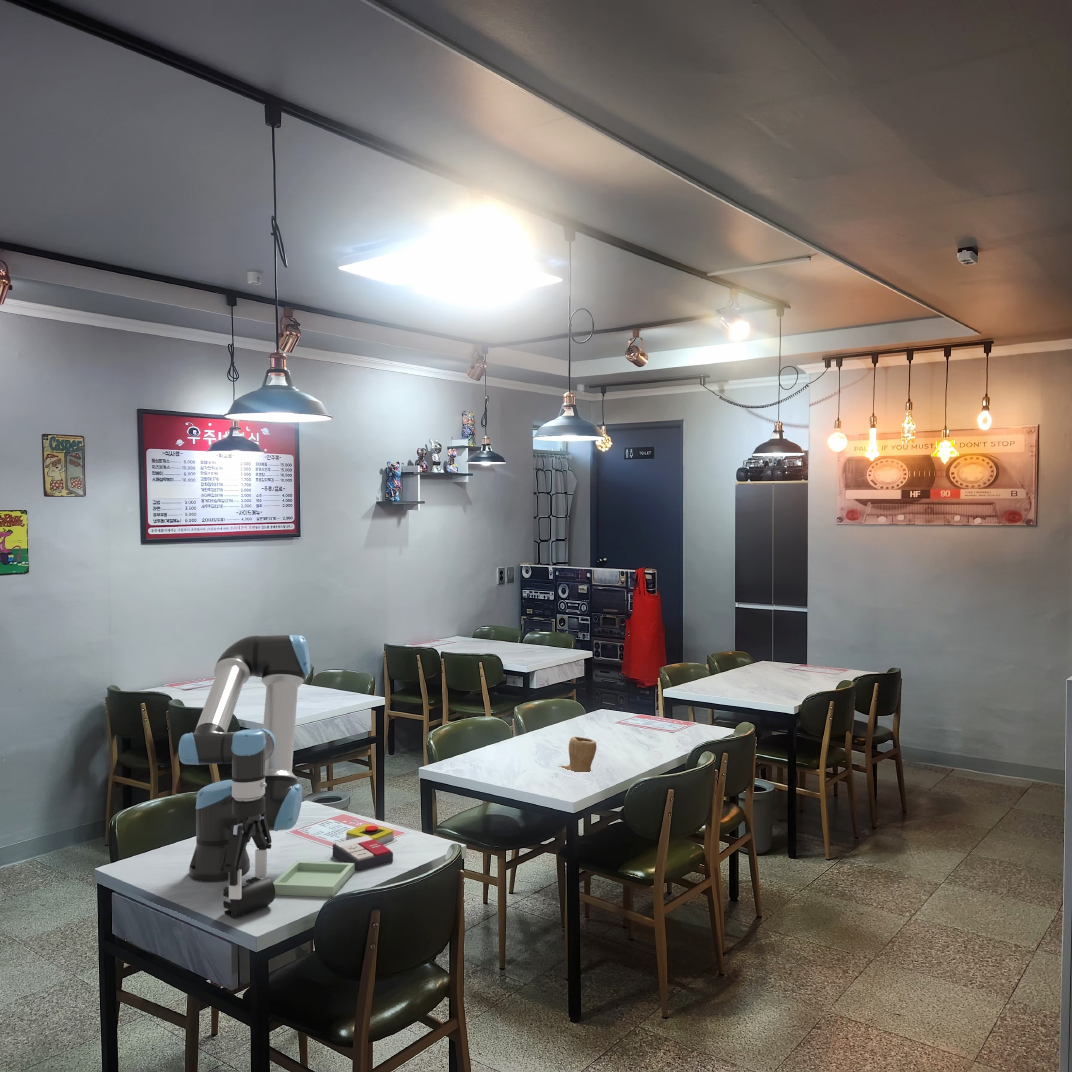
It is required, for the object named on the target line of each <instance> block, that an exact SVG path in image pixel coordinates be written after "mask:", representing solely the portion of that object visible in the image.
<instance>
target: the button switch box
mask: <svg viewBox="0 0 1072 1072" xmlns="http://www.w3.org/2000/svg"><path fill="white" fill-rule="evenodd" d="M332 857H333V858H335V859H337V860H338V861H340V862H341V863H354V865H355V872H360V871H365V870H368V869H371V868H375V867H379V866H383V865H386V864H391V863H393V862H394V852H393V851H392V850H391V849H389V848H388V847H386V846H383V845H382V844H380V843H379V842H377V841H376V840H374V839H372V838H370V837H368V836H363V837H358V838H354V839H350V840H346V841H342V840H341V841H338V842H335V843H332Z"/></svg>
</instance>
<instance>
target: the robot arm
mask: <svg viewBox="0 0 1072 1072" xmlns="http://www.w3.org/2000/svg"><path fill="white" fill-rule="evenodd" d="M213 670H214V671H213V674H214V680H213V683H212V685H211V687H210V691H209V693H208V695H207V698H206V700H205V704H204V706H203V709H202V712H201V714H200V717H199V719H198V722H197V724H196V727H195V730H194V732H189V733H184V734H183V735H182V736H181V737H180V740H179V742H178V757H179V761H180V762H181V763H182V764H183V765H197V766H200V765H217V764H218V765H220V764H231V767H232V768H231V773H232V775H231V779H225V780H221V781H216V782H213V783H211V784H208V785H206V786H204V787H202V788H200V789H199V790H198V791H197V794H196V804H195V820H196V821H195V823H196V824H195V827H196V828H195V829H196V830H195V832H196V833H195V835H196V836H195V837H196V838H195V839H196V844H195V848H194V851H193V854H192V858H191V860H190V864H189V867H188V869H189V870H188V871H189V872H188V873H189V875H188V876H189V878H190V879H191V880H193V881H196V882H202V883H216V882H224V881H228V886H229V898H228V900H230V899H241V898H242V886H243V885H242V883H243V881H242V879H243V877H242V876H244V875H245V874H247V873H248V872H249V870H250V868H251V867H250V865H251V863H250V861H251V860H250V857H249V854H248V851H247V845H248V843H250V841H251V838H252V841H253V842H254V844H255V846H256V848H257V849H255V852H254V855H255V856H254V857H255V858H254V877H256V878H259V879H264V878H267V877H268V849H269V850H271V849H272V837H271V833H270V832H272V831H274V832H278V831H287V830H291V829H292V828H293V827H295V825H296V824H297V822H298V819H299V817H300V812H301V807H302V801H303V786H302V784H299V783H298V777H297V776H296V775H295V774H294V773H293V759H294V745H295V734H296V733H295V731H296V717H297V702H298V692H299V691H298V688H299V687H300V686H301V685H302V684H304V681H305V679H304V678H305V677H307V676H309V675H310V674H311V657H310V650H309V645H308V641H307V638H305V636H303V635H300V634H299V635H293V634H287V635H286V634H285V635H281V634H280V635H277V634H276V635H251V636H250V635H249V636H246V637H243V638H241V639H239V640H237V641H236V642H233V643H232V645H230V646H229V647H228V648H226V649H225V651H224V652H223V653H222V654H221V655H220V656H219V657H218V659H217V662H216V663H215V667H214V669H213ZM252 677H261V682H262V684H263V685H265V687H266V689H265V690H266V692H265V701H264V702H265V703H264V713H263V723H262V728H253V729H252V728H251V729H250V728H249V729H242V730H239V731H238V730H237V731H234V732H233V731H231V732H230V731H229V732H228V729H229V726H230V724H231V722H232V718H233V714H234V712H235V708H236V706H237V703H238V701H239V697H240V694H241V691H242V688H243V685H244V684H246V682H247V681H249V679H250V678H252Z"/></svg>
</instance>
